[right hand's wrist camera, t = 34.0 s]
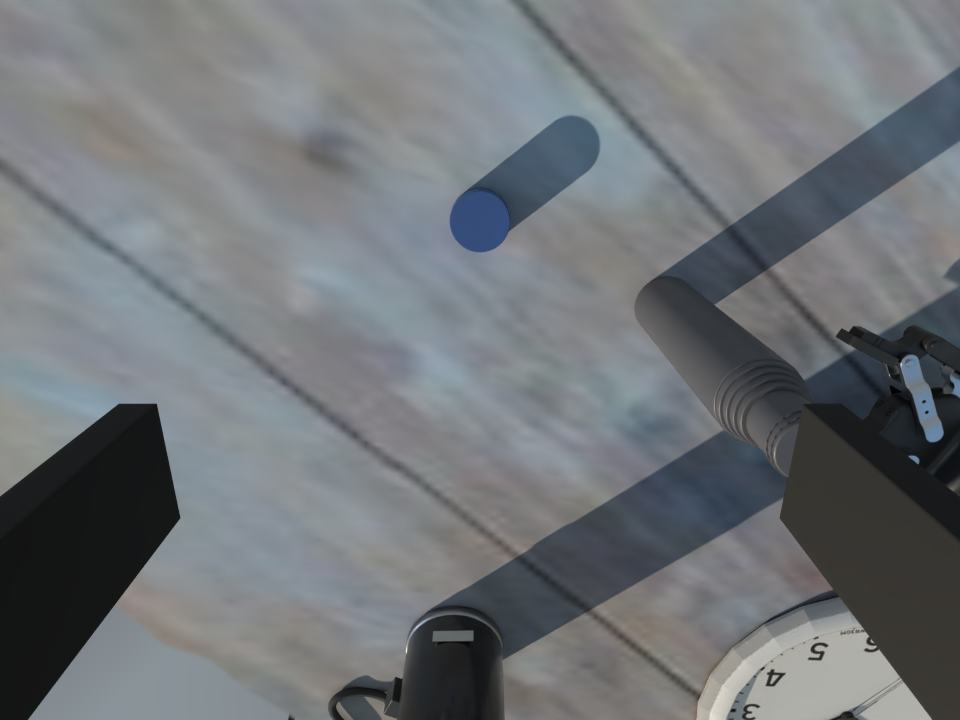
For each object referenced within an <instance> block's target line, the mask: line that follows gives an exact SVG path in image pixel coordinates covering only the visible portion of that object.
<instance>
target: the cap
mask: <svg viewBox="0 0 960 720" xmlns="http://www.w3.org/2000/svg"><path fill="white" fill-rule="evenodd" d="M509 227H510V216H509V212H508V209H507V206H506V204H505V202H504V201H503V199H502V198H501V197H500V196H499V195H498V194H497V193H495V192H494V191H492V190H489V189H486V188H474V189H471V190H468V191H466V192H464V193H463V194H462V195H461V196H460V197H459V198H458V199H457V200H456V202H455V203H454V206H453V208H452V211H451V215H450V228H451V232H452V234H453V236H454V238H455V240H456V241H457V242H458V243H459V244H460V245H461V246H462V247H464V248H466V249H468V250H470V251H473V252H486V251H490V250H492V249H494V248H496V247H497V246H499V245H500V244H501V243H502V242H503V241H504V239H505V238H506V236H507V234H508V231H509Z"/></svg>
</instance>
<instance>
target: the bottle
mask: <svg viewBox="0 0 960 720" xmlns="http://www.w3.org/2000/svg"><path fill="white" fill-rule="evenodd" d="M635 314H636V318H637V320H638V322H639V323H640V325H641V326H642V327H643V329H644V330H645V331H646V332H647V334H648V335H649V336H650V337H651V339H652V340H653V341H654V342H655V344H656V345H657V346H658V347H659V349H660V350H661V351H662V353H663V354H664V355H665V356H666V358H667V359H668V360H669V361H670V363H671V364H672V365H673V366H674V368H675V369H676V370H677V371H678V373H679V374H680V375H681V377H682V378H683V379H684V380H685V382H686V383H687V384H688V385H689V387H690V388H691V389H692V390H693V392H694V393H695V394H696V395H697V397H698V398H699V399H700V401H701V402H702V403H703V404H704V406H705V407H706V408H707V409H708V411H709V412H710V413H711V414H712V416H713V417H714V418H715V419H716V421H717V422H718V423H719V425H720V426H721V427H722V428H723V429H724V430H725V431H727V432H728V433H729V434H730V435H732V436H733V437H735V438H737V439H739V440H741V441H743V442H746V443H749V444H751V445H753V446H756V447H758V448H760V449H761V450H762V451H763V452H764V453H765V454H766V457H767V458H768V460H769V462H770V463H771V465H772V466H774V468H775V469H776V470H777V471H778V472H779V473H780V474H781V475H782V476H784V477H787V478H788V475H789V470H790V466H791V461H792V456H793V451H794V446H795V441H796V437H797V432H798V427H799V422H800V417H801V412H802V408H803V404H813V403H812V401H811V397H810V395H809V392H808V389H807V387H806V384H805V382H804V380H803V378H802V377H801V376H800V375H799V373H798V372H797V370H796V369H795V368H794V367H792V366H791V365H790V364H789V363H787V362H786V361H785V360H784V359H782V358H781V357H780V356H779V355H777V354H776V353H775V352H773V351H772V350H771V349H770V348H768V347H767V346H766V345H764V344H763V343H762V342H761V341H759V340H758V339H757V338H756V337H754V336H753V335H752V334H750V333H749V332H748V331H747V330H745V329H744V328H743V327H741V326H740V325H739V324H738V323H736V322H735V321H734V320H733V319H731V318H730V317H729V316H727V315H726V314H725V313H724V312H722V311H721V310H720V309H718V308H717V307H716V306H715V305H713V304H712V303H711V302H710V301H708V300H707V299H706V298H704V297H703V296H702V295H701V294H699V293H698V292H697V291H695V290H694V289H693V288H692V287H690V286H689V285H688V284H686V283H685V282H684V281H682V280H680V279H678V278H674V277H661V278H658V279H655V280H653V281H651V282H650V283H648V284H647V285H646V286H645V287H644V288H643V289H642V290H641V291H640V293H639V295H638V297H637V299H636V303H635Z"/></svg>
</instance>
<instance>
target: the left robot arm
mask: <svg viewBox="0 0 960 720" xmlns="http://www.w3.org/2000/svg"><path fill="white" fill-rule="evenodd" d="M836 337H837V338H839V339H840V340H842V341H843V342H845V343H847V344H848V345H850V346H852V347H854V348H856V349H858V350H860V351H862V352H864V353H865V354H867V355H869V356H871V357H873V358H875V359H877V360H879V361H881V362H882V363H883V367H884V370H885V374H883V378H884V382H885V385H886V389H887V392H888V396H887V397H886V398H884V399H882V398H879V400H878V401H877V402H876V403H875V405H874V406H873V408H872V410H871V412H870V414H869V416H868V417H867V418H865V419H864V420H863V421H864V422H865V423H866V424H867V425H869V426H870V427H871V428H873V429H874V430H875V431H876V432H878V433H879V434H880V435H882V436H883V437H884V438H885V439H887V440H888V441H889V442H891V443H892V444H893V445H894V446H896V447H897V448H898V449H900V450H901V451H902V452H903V453H905V454H906V455H907V456H908V457H910V458H911V459H912V460H914V461H915V462H916V463H917V464H919V465H920V466H921V467H923V468H924V469H925V470H926V471H928V472H929V473H930V474H932V475H933V476H934V477H935V478H937V479H938V480H939V481H940V482H942V483H943V484H944V485H946V486H947V487H948V488H949V489H951V490H952V491H953V492H955V493H956V494H957V495H958V496H960V349H958V348H957V347H955V346H954V345H952V344H951V343H949V342H947V341H946V340H944V339H943V338H941V337H939V336H937V335H935V334H933V333H930V332H928V331H926V330H924V329H922V328H920V327H918V326H910V327H908V328H907V329H906V330H905V331H904V334H903V337H902V338H901V339H899V340H897V341H894V342H890V341H887V340H885V339H883V338H881V337H879V336H878V335H876V334H874V333H872V332H870V331H868V330H866V329H864V328H862V327H858V326H853V327H852V329H851V330H850V331H849V332H848V331H846V330H844V329H842V328H841V330H840V331H839V332H838V334H837V335H836ZM926 354H928V355H930V356H931V357H933V358H935V359H936V360H938V361H939V362H941V363H943V364H942V365H941V366H940V370H942V371H941V375H942V376H943V377H944V378H945V380H946V384H945V386H944V388H930V387H929V385H928V384H927V382H926V381H925V380H924V378H923V374H922V370H921V367H920V363H919V359H920V358H922V357H923V356H925V355H926ZM502 657H503V640H502V636H501V633H500V631H499V629H498V627H497V626H496V625H495V623H494V622H493V621H492V620H491V619H489V618H488V617H487V616H485V615H484V614H482V613H480V612H478V611H475V610H472V609H468V608H463V607H445V608H440V609H436V610H433V611H431V612H429V613H427V614H425V615H424V616H422V617H421V618H419V619H418V620H417V621H416V622H415V623H414V625H413V626H412V628H411V629H410V631H409V634H408V638H407V645H406V660H405V667H404V673H403V679H400V678H397V677H395V679H394V680H393V682H392V684H391V685H390V687H389V689H388V690H387V694H386V693H384V692H381V691H378V690H373V689H368V688H349V689H345V690H342V691H340V692H338V693H337V694H335V695H334V696H333V697H332V698H331V700H330V702H329V706H328V711H329V714H330V716H331V717H332V719H333V720H344V719H343V718H342V717H341V716H340V714H339V713H338V711H337V709H336V704H337V703H338V702H339V701H340V700H342V699H344V698H347V697H352V696H365V697H371V698H374V699H377V700H380V701H382V702H384V703H385V708H384V714H385V715H388V716H391V717H394V718H396V719H397V720H505V714H504V689H503V662H502ZM288 720H295V718H293V717H291V716H290V715H289V718H288Z"/></svg>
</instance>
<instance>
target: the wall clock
mask: <svg viewBox="0 0 960 720" xmlns="http://www.w3.org/2000/svg"><path fill="white" fill-rule="evenodd" d="M697 720H932V719H931V718H930V716H929V715H928V714H927V712H926V711H925V710H924V708H923V707H922V706H921V704H920V703H919V702H918V700H917V699H916V698H915V696H914V695H913V694H912V692H911V691H910V690H909V688H908V687H907V686H906V684H905V683H904V682H903V681H902V679H901V678H900V677H899V675H898V674H897V673H896V671H895V670H894V669H893V667H892V666H891V665H890V663H889V662H888V661H887V659H886V658H885V657H884V655H883V654H882V653H881V651H880V650H879V649H878V647H877V646H876V645H875V643H874V642H873V641H872V640H871V638H870V637H869V636H868V634H867V633H866V632H865V630H864V629H863V628H862V626H861V625H860V624H859V622H858V621H857V620H856V618H855V617H854V616H853V614H852V613H851V612H850V610H849V609H848V608H847V606H846V605H845V604H844V603H843V601H842V600H841V599H840V597H837V598H833V599H829V600H825V601H821V602H817V603H813V604H809V605H805V606H801V607H799V608H797V609H795V610H793V611H791V612H789V613H786V614H784V615H782V616H780V617H778V618H776V619H774V620H772V621H769V622H767V623H765V624H763V625H762V626H761V627H759V628H758V629H757V630H755V631H754V632H753V633H751V634H750V635H749V636H747V637H746V638H745V639H743V640H742V641H741V642H739V643H738V644H737V645H735V646H734V647H733V648H732V649H731V650H730V651H729V653H728V654H727V655H726V656H725V657H724V659H723V660H722V661H721V662H720V663H719V665H718V666H717V667H716V668H715V669H714V671H713V672H712V673H711V674H710V676H709V679H708V681H707V683H706V685H705V688H704V690H703V692H702V694H701V697H700V699H699V701H698V708H697Z"/></svg>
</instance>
